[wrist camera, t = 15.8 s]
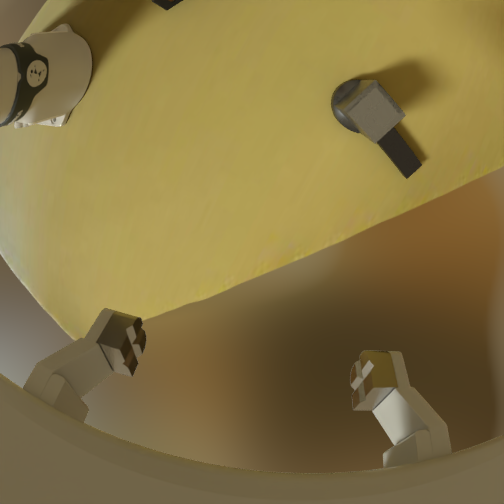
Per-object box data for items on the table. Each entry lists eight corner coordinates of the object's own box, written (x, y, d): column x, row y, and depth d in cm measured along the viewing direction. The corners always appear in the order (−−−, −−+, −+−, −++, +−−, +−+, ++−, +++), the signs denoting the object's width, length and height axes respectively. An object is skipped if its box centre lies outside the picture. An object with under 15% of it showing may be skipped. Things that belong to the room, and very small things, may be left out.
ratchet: (319, 103, 31) (325, 106, 27) (355, 69, 28) (366, 67, 23) (394, 183, 36) (407, 198, 31) (426, 154, 32) (443, 164, 28)
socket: (333, 105, 29) (343, 109, 24) (360, 80, 27) (375, 79, 22) (361, 133, 31) (375, 143, 26) (387, 109, 28) (405, 115, 23)
